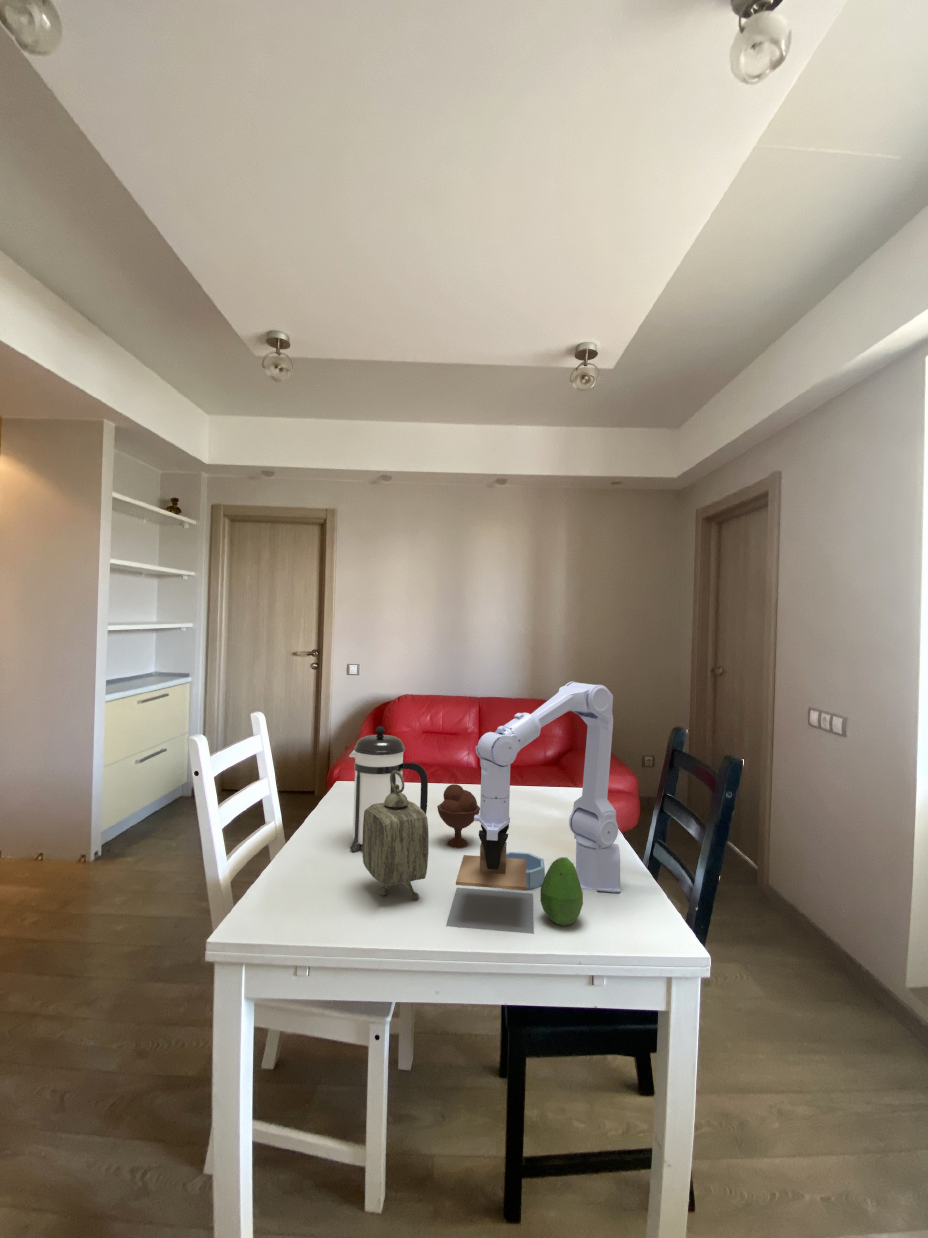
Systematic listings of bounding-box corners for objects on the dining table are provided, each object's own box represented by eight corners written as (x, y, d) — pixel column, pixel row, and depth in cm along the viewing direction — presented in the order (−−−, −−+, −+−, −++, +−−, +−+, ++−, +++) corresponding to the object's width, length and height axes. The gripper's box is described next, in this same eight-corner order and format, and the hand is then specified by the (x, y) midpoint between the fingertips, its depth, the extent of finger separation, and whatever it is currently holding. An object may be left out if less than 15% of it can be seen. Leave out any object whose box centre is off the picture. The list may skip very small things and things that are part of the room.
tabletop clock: (427, 903, 112) (430, 777, 113) (384, 913, 107) (388, 782, 108) (398, 875, 125) (401, 762, 125) (359, 883, 120) (363, 766, 121)
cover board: (526, 862, 116) (526, 835, 116) (526, 890, 103) (526, 859, 103) (463, 858, 117) (464, 830, 117) (455, 885, 104) (456, 854, 104)
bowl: (543, 871, 129) (543, 854, 129) (544, 893, 118) (545, 873, 118) (495, 868, 130) (495, 850, 130) (492, 889, 119) (493, 870, 119)
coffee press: (367, 862, 131) (371, 733, 132) (336, 842, 144) (340, 724, 145) (427, 846, 142) (431, 727, 143) (393, 829, 155) (397, 719, 156)
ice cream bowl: (442, 853, 138) (444, 792, 138) (432, 837, 149) (434, 780, 149) (483, 850, 141) (485, 790, 141) (471, 835, 151) (472, 779, 152)
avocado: (576, 913, 110) (578, 850, 110) (586, 934, 102) (588, 867, 102) (536, 912, 110) (537, 850, 110) (543, 933, 102) (544, 866, 102)
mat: (532, 895, 117) (532, 893, 117) (533, 935, 101) (533, 933, 101) (456, 889, 119) (456, 887, 119) (445, 928, 103) (445, 926, 103)
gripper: (478, 784, 118) (476, 849, 118) (471, 804, 104) (469, 879, 103) (511, 786, 117) (510, 852, 117) (509, 806, 103) (507, 881, 102)
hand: (493, 865), depth 110 cm, fingers closed on cover board, 3 cm apart
